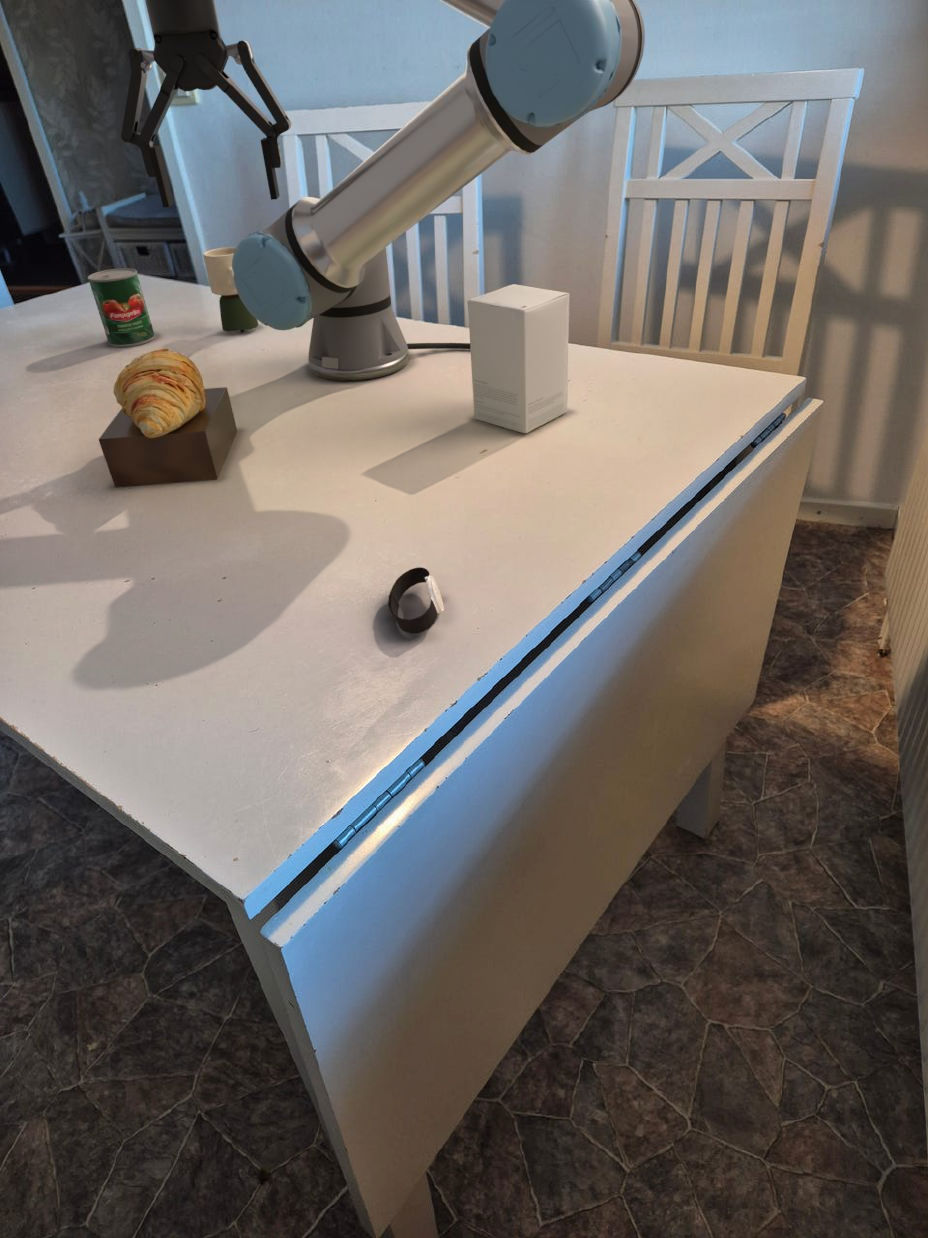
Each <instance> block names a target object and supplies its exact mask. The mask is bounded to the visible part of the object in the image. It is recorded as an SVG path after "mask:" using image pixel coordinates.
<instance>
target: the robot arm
mask: <svg viewBox="0 0 928 1238" xmlns="http://www.w3.org/2000/svg"><path fill="white" fill-rule="evenodd" d="M438 1H439V2H441V3H443V4H445V5H446V6H448V7H450V8H452V9H453V10H455V11H457V12H459V13H460V14H463V16H466V17H468V18H470V19H471V20H473V21H474V22H477V24H478V23H479V24H480V25H482V26H484V27H486V28H487V30H485V31H483V32H484V33H482V34H481V35H480V36H479V37H478V38H477V39H476V40H475V41H474V42H472V43H471V44H470V45H469V47H468V49H467V52H466V63H465V72H464V73H463V74H461V75H460V76H459V77H458V78H457V79H456V80H455V81H454V82H452V83H451V84H450V85H449V86H448V87H447V88H446V89H444V91H442V92H441V93H440V94H439V95H438V96H437V97H436V98H434V99H433V100H432V101H431V102H430V103H428V104H427V105H426V106H425V107H423V109H422V110H421V111H419V112H418V113H417V114H416V115H415V116H414V117H413V118H411V119H410V120H409V121H408V122H407V123H406V124H405V125H404V126H403V127H401V128H400V129H399V130H398V131H397V132H395V133H394V134H393V135H392V136H391V137H390V138H389V139H388V140H387V141H385V142H384V143H383V144H382V145H381V146H380V147H379V148H377V149H376V150H375V151H374V152H373V153H372V154H371V155H370V156H368V158H366V159H365V160H364V161H363V162H362V163H361V164H359V166H357V167H356V168H354V170H353V171H352V172H351V173H350V174H348V175H347V176H346V177H345V178H344V179H343V180H341V181H340V182H339V183H337V184H336V186H335V187H333V188H332V189H331V190H329V192H328V193H327V194H326V195H324V196H323V197H322V198H321V197H320V198H318V197H317V198H316V197H313V196H305V197H302V198H301V199H299V200H297V201H296V202H295V203H294V204H293V205H292V206H291V207H289V208H288V209H287V210H286V211H285V212H284V213H282V215H281V216H279V217H278V219H276V220H275V221H274V222H273V223H272V224H270V225H269V226H268V227H266V228H264V229H263V230H261V231H254V232H251V233H249V234H248V235H247V236H246V237H245V238H243V239H242V240H241V241H240V242H239V243H238V244H237V246H235V247H236V249H235V252H234V255H233V259H232V270H233V272H234V276H233V280H234V284H235V287H236V290H237V293H238V295H239V297H240V299H241V300H242V302H243V304H244V305H245V307H246V308H247V309H248V311H249V312H250V313H251V314H252V315H253V316H254V317H255V318H256V319H257V321H258V322H260V323H261V324H263V325H264V326H267V327H269V328H271V329H272V330H276V331H290V330H292V329H295V328H296V329H297V328H301V327H303V326H304V325H305V324H307V323H308V322H309V321H311V320H312V326H311V327H312V328H311V332H310V333H311V334H310V341H309V346H308V347H309V349H308V357H307V358H308V359H307V360H308V365H309V370H310V372H311V373H312V374H313V375H315V376H317V377H319V378H321V379H326V380H332V381H342V382H343V381H346V382H347V381H348V382H349V381H351V382H352V381H363V380H364V381H365V380H371V379H376V378H379V377H380V378H381V377H384V376H388V375H391V374H394V373H395V372H398V371H400V370H402V369H403V368H405V367H406V366H407V365H408V363H409V362H410V354H409V350H448V349H449V350H452V349H454V350H471V349H470V342H414V343H413V342H412V343H410V342H409V343H408V342H407V341H406V338H405V337H404V334H403V331H402V329H401V328H400V324H399V322H398V320H397V317H396V315H395V312H394V310H393V306H392V297H391V286H390V275H389V265H388V255H387V247H388V246H389V245H391V244H392V243H393V242H395V241H396V240H397V239H399V238H400V237H401V236H402V235H403V234H405V233H406V232H407V231H409V230H410V229H412V228H413V227H414V226H415V225H417V224H418V223H419V222H421V221H422V220H423V219H424V218H426V217H427V216H428V215H430V214H431V213H432V212H434V211H435V210H436V209H437V208H438V207H440V206H441V205H443V204H444V203H445V202H446V201H448V200H449V199H450V198H452V197H453V196H454V195H455V194H456V193H458V192H459V191H461V190H462V189H463V188H465V187H466V186H467V185H468V184H470V183H471V182H472V181H473V180H475V179H476V178H478V177H480V175H481V174H483V173H484V172H485V171H487V170H488V169H489V168H490V167H492V166H493V165H494V164H496V163H497V162H498V161H500V160H501V159H502V158H504V157H505V156H506V155H507V154H509V153H510V152H511V151H513V152H516V153H519V154H523V155H527V156H529V155H530V156H531V155H532V154H534V153H535V152H537V151H539V149H541V148H542V147H543V146H545V145H546V144H547V143H549V142H550V141H551V140H553V139H554V138H556V137H557V136H558V135H559V134H560V133H562V132H563V131H565V130H566V129H567V128H569V127H570V126H571V125H573V124H574V123H576V122H577V121H578V120H579V119H581V118H582V117H584V116H585V115H587V114H588V113H590V112H592V111H595V110H598V109H600V108H603V107H606V106H607V105H610V104H611V103H612V102H614V101H615V100H616V99H618V98H619V97H621V96H622V95H623V93H625V91H626V90H627V89H628V87H629V86H630V85H631V84H632V82H633V81H634V79H635V77H636V75H637V73H638V71H639V69H640V66H641V63H642V60H643V56H644V50H645V44H646V31H645V24H644V18H643V15H642V12H641V9H640V7H639V4H638V3H637V1H636V0H438ZM144 3H145V6H146V10H147V11H146V12H147V14H148V19H149V24H150V28H151V33H152V36H153V43H154V47H153V50H152V49H151V50H150V49H142V48H141V47H132V48H130V49H129V50H128V58H129V65H130V77H129V82H128V83H129V84H128V90H127V95H126V102H125V108H124V115H123V120H122V126H121V133H120V138H121V140H122V141H123V142H124V143H125V144H126V143H127V144H128V143H129V144H132V145H135V146H137V147H138V148H139V150H140V152H141V156H142V160H143V164H144V167H145V168H144V169H145V172H146V174H147V176H148V178H155V179H156V184H157V187H158V192H159V197H160V200H161V204H162V208H170V207H172V206H173V205H174V204H175V201H174V197H173V193H172V189H171V184H170V181H169V177H168V172H167V168H166V167H167V166H166V163H165V160H164V156H163V155H164V154H163V152H162V151H163V150H162V147H161V145H160V144H159V145H154V141H155V139H156V137H157V135H158V132H159V130H160V128H161V126H162V123H163V122H164V120H165V117H166V115H167V113H168V111H169V108H170V107H171V105H172V103H173V100H174V98H175V96H176V95H177V93H178V91H179V90H181V91H183V92H193V91H195V90H202V91H210V90H214V89H215V88H216V87H218V88H219V90H221V91H222V92H223V93H224V94H225V95H226V96H227V97H228V98H229V99H230V100H231V101H232V102H233V103H234V104H235V105H236V106H237V107H238V108H239V110H240V111H242V112H243V113H244V115H246V117H247V118H248V119H250V121H251V122H252V123H253V124H254V125H255V126H256V127H257V128H258V129H259V130H260V131H261V132H262V134H264V136H266V137H263V138H261V139H260V145H261V151H262V156H263V162H264V168H265V174H266V179H267V184H268V190H269V195H270V200H273V201H274V200H278V198H279V197H280V196H281V195H280V189H279V185H278V178H277V171H276V169H280V168H282V166H283V157H282V152H281V145H280V139H279V137H280V135H282V134H284V133H285V132H287V131H289V130H290V129H291V128H292V121H291V120H290V118H289V116H288V115H287V113H286V111H285V110H284V108H283V106H282V105H281V103H280V101H279V100H278V98H277V96H276V95H275V93H274V91H273V90H272V88H271V86H270V85H269V84H268V81H267V79H266V78H265V77H264V75H263V73H262V71H261V70H260V68H259V67H258V65H257V63H256V60H255V57H254V53H253V49H252V47H251V46H252V45H251V44H250V42H249V41H248V40H246V39H245V40H239V41H238V42H237V43H232V44H227V45H226V44H225V42H224V40H223V38H222V35H221V29H220V23H219V17H218V13H217V8H216V3H215V0H144ZM229 57H231V58H232V59H233V60H234V62H235V64H236V65H239V66H242V68H243V70H244V72H245V74H246V75H247V77H248V79H249V81H250V82H251V84H252V85H253V87H254V88H255V90H256V92H257V93H258V95H259V97H260V98H261V101H262V102H263V104H264V105H265V107H266V108H267V110H268V112H269V113H270V115H271V116H272V118H273V120H274V121H275V123H273V122H272V121H271V120H270V119H269V118H268V117H267V116H266V115H265V114H264V113H263V111H261V109H260V108H259V107H258V106H257V105H256V104H255V103H254V102H253V101H252V100H251V99H250V98H249V96H248V95H247V94H246V93H244V91H243V90H242V89H241V88H240V87H239V85H237V84H236V82H235V81H234V80H233V78H231V77H230V75H228V74H227V73H226V72H225V68H226V65H227V63H228V60H229ZM154 62H155V63H156V65H157V66H158V67H159V68H160V69H161V71H163V73H164V74H165V76H164V78H163V81H162V83H161V85H160V88H159V92H158V94H157V96H156V98H155V100H154V103H153V105H152V107H151V109H150V112H149V113H148V115H147V118H146V120H145V122H144V124H143V127H142V129H141V131H140V132H139V126H140V122H141V121H140V119H141V116H142V115H141V114H142V109H143V102H144V97H145V91H146V86H147V85H146V84H147V79H148V72H150V71H151V70H152V68H153V64H154Z"/></svg>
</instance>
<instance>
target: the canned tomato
mask: <svg viewBox="0 0 928 1238" xmlns="http://www.w3.org/2000/svg"><path fill="white" fill-rule="evenodd" d="M138 275H139V274H138V271H137V270H136V269H134V268H127V267H125V268H113V269H112V268H111V269H105V270H101V271H97V272H94V273H91V274H89V275H88V276H87V280H88V282H89V286H90V289H91V292H92V295H93V299H94V301H95V305H96V307H97V310H98V314H99V317H100V320H101V323H102V327H103V329H104V333H105V336H106V339H107V343H108V345H109V346H110V347H115V348H128V347H135V346H140V345H144V344H147V343H150V342H151V341H153V340H154V339H155V338H156V334H155V332H154V328H153V325H152V321H151V317H150V314H149V310H148V306H147V302H146V299H145V296H144V292H143V289H142V285H141V281H140V278H139V276H138Z"/></svg>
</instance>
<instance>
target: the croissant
mask: <svg viewBox="0 0 928 1238" xmlns="http://www.w3.org/2000/svg"><path fill="white" fill-rule="evenodd" d="M203 381H204V380H203V377H202V374H201V372H200V370H199V368H198V367H197V365H196V364H195V362H194V361H193V360H192V359H191V358H189V357H188V356H186V355H185V354H182V353H180V352H175V351H171V350H170V349H169V348H167V349H166V348H163V349H160V350H153V351H150V352H147V353H145V354H143V355H141V356H140V357H136V358H134V359H133V360H132V361H130V363H128V364H127V365H125V367H124V368H123V369H122V370H121V371H120V373H119V374H118V375H117V379H116V381H115V382H114V385H113V395H114V397H115V399H116V403H117V404H118V405H119V406H121V409H123V412H124V413H125V415H126V416H128V417H131V419H132V420H133V422H134V423H135V425H136V426H137V427H138V428H140V429H141V432H142V433H143V434H144V435H145V436H146V437H149V438H155V437H159V436H162V435H165V434H167V433H169V432H171V431H173V430H176V429H177V428H179V427H180V426H182V425H183V424H184V423H186V422H187V421H189V420H190V419H192V418H193V417H194V416H195V415H196V414H198V412H199V411H202V410H203V409H204V408H205V406H206V399H205V391H204V389H205V387H204V382H203Z"/></svg>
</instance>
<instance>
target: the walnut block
mask: <svg viewBox="0 0 928 1238" xmlns="http://www.w3.org/2000/svg"><path fill="white" fill-rule="evenodd" d="M204 391H205V399H206V406H205V408H204V409H203V410H202V411H199V412H198V414H196V415H195V416H194V417H193V418H192V419H190V420H189V421H187V422H186V423H184V424H183V425H182V426H180V427H179V428H177V429H176V430H173V431H171V432H169V433H167V434H165V435H162V436H159V437H155V438H149V437H146V436H145V435H144V434H143V433H142V432H141V429H140V428H138V427H137V426H136V425H135V423H134V422H133V420H132V419H131V417H128V416H126V415H125V413H124V412H123V409H122V408H121V409H120V410H119V411H118V413H117V414H116V415H115V417H114V418H113V419H112V421H110V423H109V424H108V426H107V427H106V429H105V430H104V432H102V434H101V435H100V437H99V438H98V442H99V445H100V448H101V451H102V454H103V457H104V460H105V462H106V465H107V468H108V471H109V474H110V477H111V481H112V483H113V486H114V488H121V487H122V488H123V487H134V486H137V487H138V486H148V485H149V486H150V485H162V484H174V483H187V482H201V481H210V480H212V481H214V480H218V479H219V477H220V475H221V472H222V469H223V467H224V464H225V462H226V460H227V457H228V455H229V452H230V450H231V448H232V445H233V443H234V442H235V441H234V440H235V438H236V436H237V434H238V427H237V424H236V420H235V419H236V418H235V415H234V411H233V407H232V403H231V398H230V394H229V390H228V387H227V386H225V387H212V388H209V387H208V388H204Z"/></svg>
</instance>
